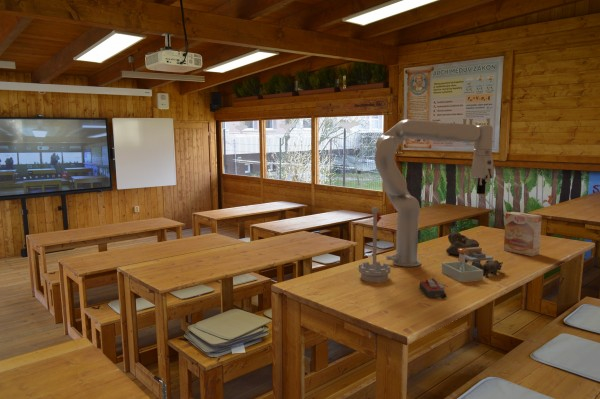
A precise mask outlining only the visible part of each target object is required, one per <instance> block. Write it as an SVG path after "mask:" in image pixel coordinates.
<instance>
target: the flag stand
mask: <svg viewBox="0 0 600 399" xmlns="http://www.w3.org/2000/svg"><path fill="white" fill-rule="evenodd" d="M379 211H380V210H379V208H378V207H377V206H374V207H373V206H372V208H371V214H373V216H372V224H373V225H372V263H370V262H369V261H364V262H362V263H359V264H358V272H359V274H360V279H362V280H363V281H366V282H370V283H381V282H386V281H387V280H388V278H389V274H390V273H391V266H390V265H389V263H387V262H383V264H381V262H380V261H377V251H378V250H377V249H378V248H377V247H378V246H377V245H378V244H377V242H378V240H377V239H378V237H377V236H378V235H377V234H378V230H377V229H378V223H379V221H380V220H381V219H382V216H381V215H379Z"/></svg>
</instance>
